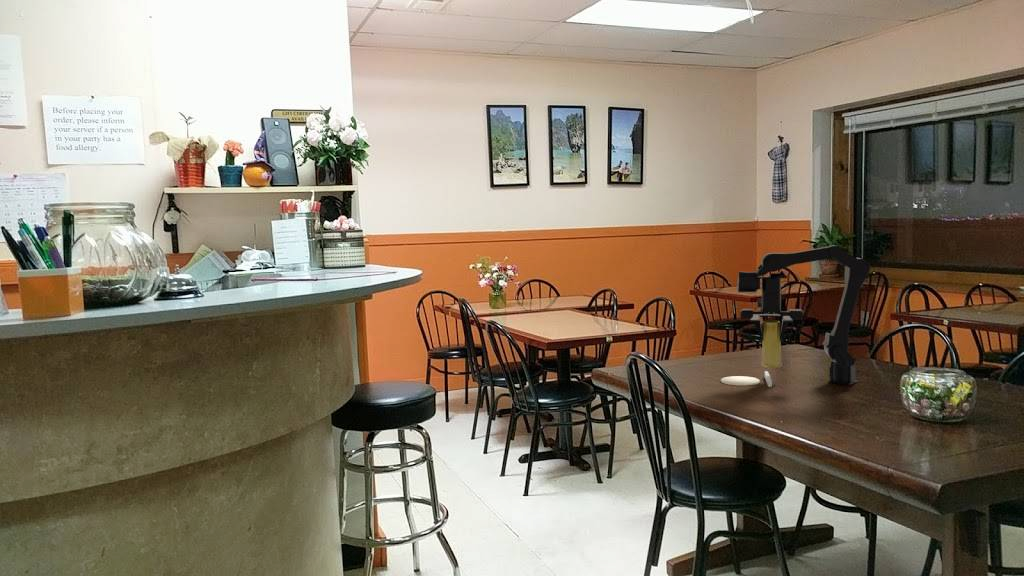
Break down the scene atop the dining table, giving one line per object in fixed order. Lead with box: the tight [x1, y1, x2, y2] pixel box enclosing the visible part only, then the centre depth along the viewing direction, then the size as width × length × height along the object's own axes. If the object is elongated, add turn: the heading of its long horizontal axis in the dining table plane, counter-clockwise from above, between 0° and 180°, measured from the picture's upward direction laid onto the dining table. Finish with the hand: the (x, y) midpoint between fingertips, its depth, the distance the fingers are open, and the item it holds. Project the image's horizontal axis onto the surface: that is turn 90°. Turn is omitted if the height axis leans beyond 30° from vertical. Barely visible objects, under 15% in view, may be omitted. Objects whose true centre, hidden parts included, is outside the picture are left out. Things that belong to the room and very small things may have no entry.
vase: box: [761, 320, 783, 368], centre depth 222 cm, size 6×6×14 cm
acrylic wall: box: [764, 370, 773, 388], centre depth 223 cm, size 14×1×2 cm, turn 165°
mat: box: [720, 375, 760, 387], centre depth 226 cm, size 12×12×1 cm
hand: (771, 340), depth 222 cm, fingers closed on vase, 5 cm apart
